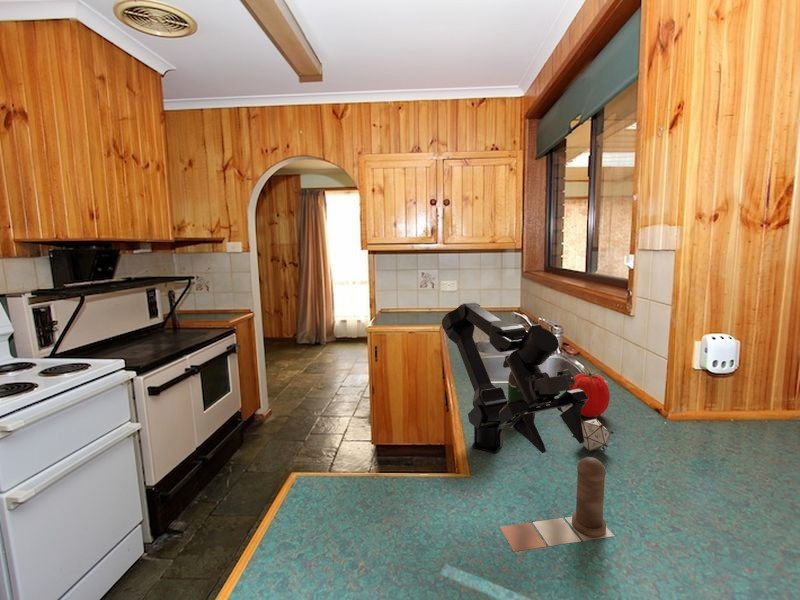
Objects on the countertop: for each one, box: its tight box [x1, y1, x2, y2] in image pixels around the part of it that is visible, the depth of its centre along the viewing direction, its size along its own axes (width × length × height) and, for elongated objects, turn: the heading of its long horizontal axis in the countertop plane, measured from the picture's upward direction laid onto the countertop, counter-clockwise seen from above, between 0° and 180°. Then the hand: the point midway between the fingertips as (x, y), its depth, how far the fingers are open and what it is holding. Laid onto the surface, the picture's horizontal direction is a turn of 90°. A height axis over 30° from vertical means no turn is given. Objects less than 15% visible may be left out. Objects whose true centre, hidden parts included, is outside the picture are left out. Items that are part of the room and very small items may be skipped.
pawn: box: [571, 456, 607, 538], centre depth 72 cm, size 6×6×13 cm
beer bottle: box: [507, 371, 536, 420], centre depth 118 cm, size 8×8×24 cm
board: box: [499, 516, 615, 553], centre depth 72 cm, size 21×10×1 cm, turn 99°
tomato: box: [570, 371, 611, 418], centre depth 120 cm, size 12×12×13 cm
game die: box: [571, 416, 615, 455], centre depth 101 cm, size 9×8×10 cm
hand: (563, 447), depth 78 cm, fingers open, 9 cm apart
